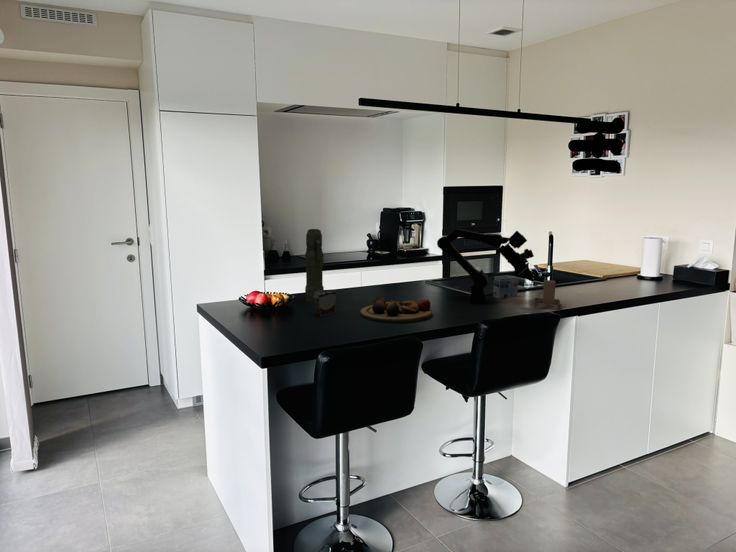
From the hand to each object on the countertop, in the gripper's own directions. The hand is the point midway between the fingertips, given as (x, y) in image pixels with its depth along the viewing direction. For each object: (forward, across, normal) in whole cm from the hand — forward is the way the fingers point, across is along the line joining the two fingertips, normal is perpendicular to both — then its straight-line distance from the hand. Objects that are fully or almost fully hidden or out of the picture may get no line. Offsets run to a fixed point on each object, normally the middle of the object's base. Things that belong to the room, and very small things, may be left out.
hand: (533, 279), depth 265 cm
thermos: (-63, -22, +82) cm, 105 cm away
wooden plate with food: (-31, -36, +50) cm, 69 cm away
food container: (-54, -45, +72) cm, 101 cm away
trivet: (+7, -13, +11) cm, 19 cm away
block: (+14, 0, +4) cm, 14 cm away
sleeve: (+14, 0, +4) cm, 15 cm away
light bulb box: (0, +17, +19) cm, 26 cm away
